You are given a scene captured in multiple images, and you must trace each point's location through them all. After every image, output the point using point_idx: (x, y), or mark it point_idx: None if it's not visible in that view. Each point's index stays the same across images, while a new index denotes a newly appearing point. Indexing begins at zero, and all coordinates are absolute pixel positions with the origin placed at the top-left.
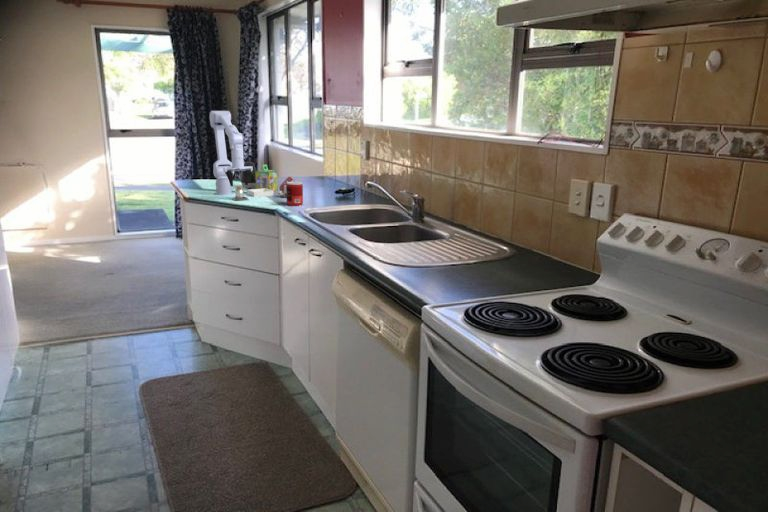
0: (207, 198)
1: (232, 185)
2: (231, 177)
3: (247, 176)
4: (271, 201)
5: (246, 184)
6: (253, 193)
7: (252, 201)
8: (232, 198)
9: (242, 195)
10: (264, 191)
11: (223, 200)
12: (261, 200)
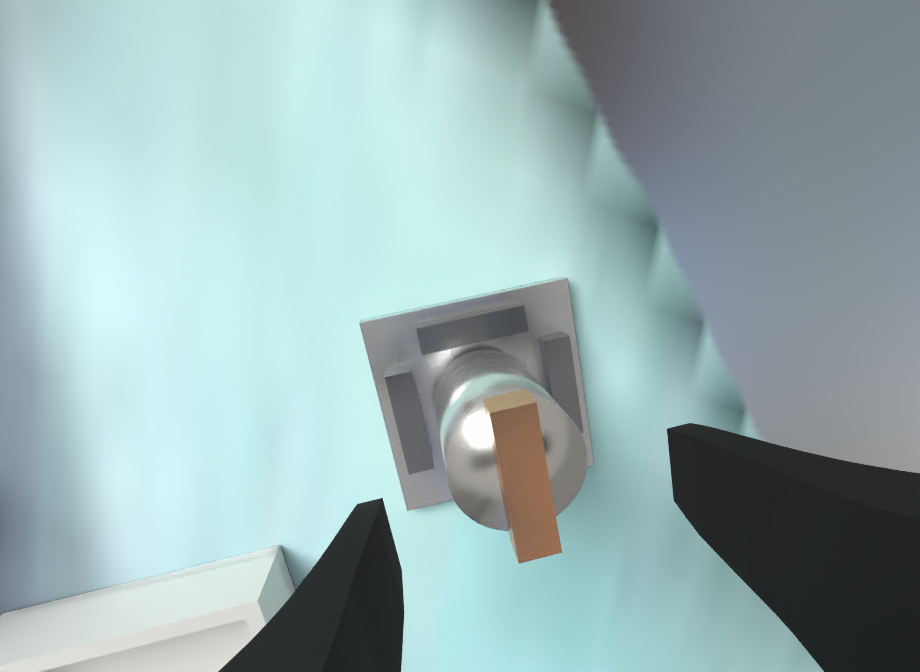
0: (765, 620)
1: (686, 427)
2: (884, 488)
3: (317, 638)
4: (55, 210)
5: (380, 502)
6: (271, 607)
7: (333, 294)
8: (578, 403)
9: (460, 379)
10: (89, 649)
11: (651, 463)
12: (202, 341)
